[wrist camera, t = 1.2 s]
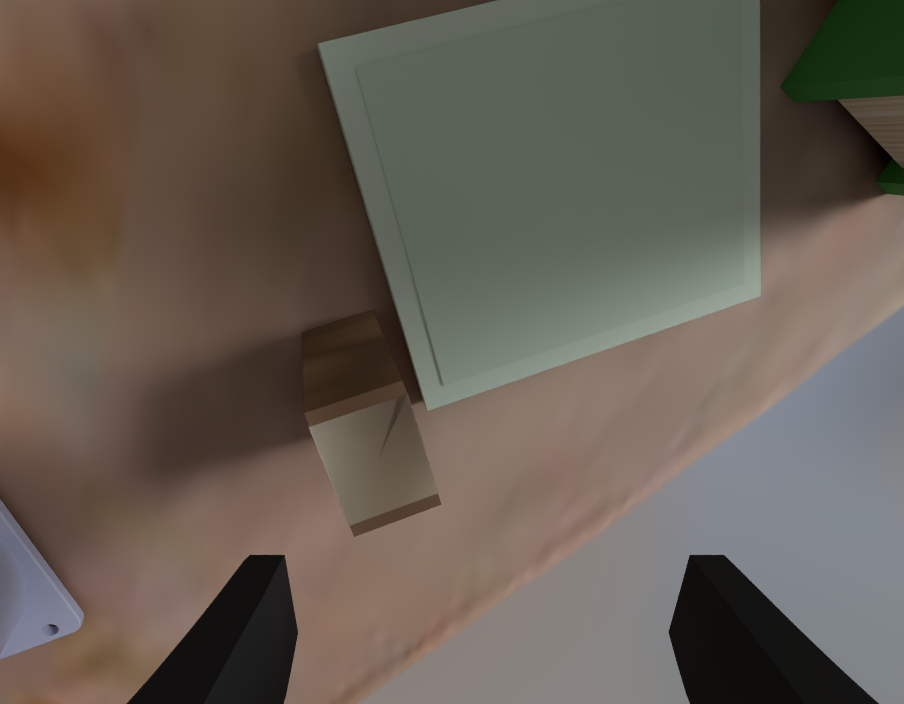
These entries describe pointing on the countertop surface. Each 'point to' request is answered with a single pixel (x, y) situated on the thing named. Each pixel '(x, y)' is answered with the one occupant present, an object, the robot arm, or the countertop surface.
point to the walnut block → (364, 424)
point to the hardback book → (860, 74)
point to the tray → (554, 176)
